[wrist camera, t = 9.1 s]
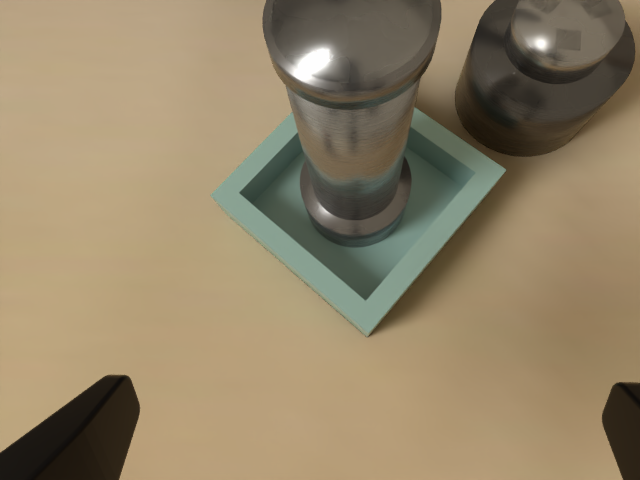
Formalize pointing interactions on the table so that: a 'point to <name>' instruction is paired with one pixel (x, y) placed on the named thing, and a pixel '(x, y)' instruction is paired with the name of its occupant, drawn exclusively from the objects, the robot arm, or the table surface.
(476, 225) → the table surface
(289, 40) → the grey cylindrical piece
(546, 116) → the calibration weight
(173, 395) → the table surface
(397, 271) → the tray
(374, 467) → the table surface
